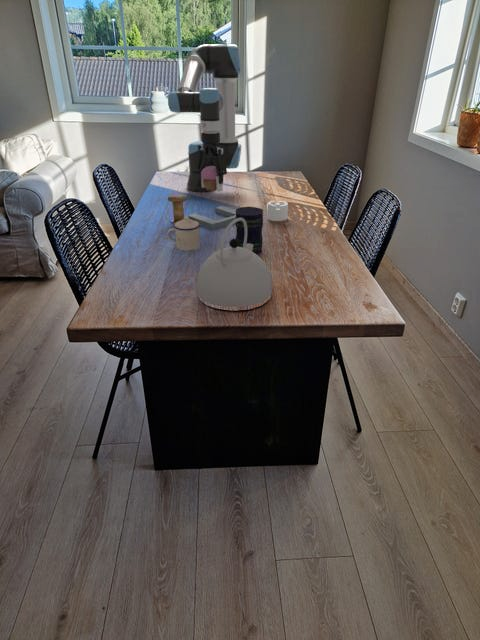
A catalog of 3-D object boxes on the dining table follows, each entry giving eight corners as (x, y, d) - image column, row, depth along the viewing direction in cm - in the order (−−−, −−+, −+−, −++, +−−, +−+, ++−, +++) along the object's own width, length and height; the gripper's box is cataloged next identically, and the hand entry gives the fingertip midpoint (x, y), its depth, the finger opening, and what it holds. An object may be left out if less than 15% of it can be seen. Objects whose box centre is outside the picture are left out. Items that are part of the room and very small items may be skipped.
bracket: (287, 221, 192) (288, 206, 189) (267, 221, 192) (268, 206, 189) (285, 208, 209) (285, 193, 206) (266, 207, 209) (267, 193, 206)
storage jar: (243, 257, 157) (243, 216, 150) (230, 248, 165) (230, 209, 157) (267, 253, 161) (268, 212, 154) (254, 244, 169) (255, 205, 161)
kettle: (219, 269, 149) (218, 202, 138) (284, 281, 142) (288, 211, 130) (183, 302, 130) (177, 227, 118) (255, 317, 122) (257, 239, 110)
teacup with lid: (201, 243, 169) (200, 213, 163) (199, 252, 162) (197, 221, 156) (170, 242, 170) (167, 213, 164) (166, 252, 162) (163, 221, 156)
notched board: (188, 221, 192) (187, 215, 190) (222, 211, 204) (222, 205, 202) (212, 230, 182) (212, 224, 181) (246, 219, 194) (246, 213, 193)
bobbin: (166, 222, 190) (163, 196, 184) (180, 218, 195) (179, 193, 189) (177, 227, 185) (175, 200, 179) (192, 222, 190) (191, 197, 184)
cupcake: (226, 189, 190) (225, 164, 185) (216, 193, 183) (215, 168, 178) (208, 186, 193) (207, 162, 188) (197, 191, 187) (196, 166, 182)
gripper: (186, 130, 181) (189, 186, 192) (221, 135, 168) (222, 195, 179) (200, 128, 185) (202, 183, 197) (236, 133, 172) (236, 192, 184)
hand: (212, 189), depth 188 cm, fingers closed on cupcake, 9 cm apart
